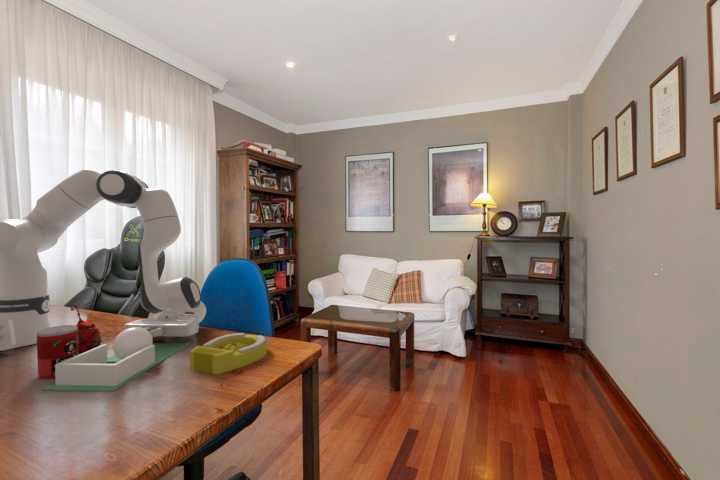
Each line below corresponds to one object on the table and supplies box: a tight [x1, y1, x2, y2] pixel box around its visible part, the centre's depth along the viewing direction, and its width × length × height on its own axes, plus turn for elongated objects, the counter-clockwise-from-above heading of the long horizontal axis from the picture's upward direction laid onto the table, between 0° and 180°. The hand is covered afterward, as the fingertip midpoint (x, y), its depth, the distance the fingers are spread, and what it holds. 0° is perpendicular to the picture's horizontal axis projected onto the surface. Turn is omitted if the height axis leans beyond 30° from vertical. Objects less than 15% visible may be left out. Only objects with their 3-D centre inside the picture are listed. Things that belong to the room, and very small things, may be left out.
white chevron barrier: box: [55, 343, 155, 386], centre depth 84 cm, size 14×14×5 cm
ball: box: [112, 327, 154, 360], centre depth 92 cm, size 9×9×9 cm
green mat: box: [42, 342, 189, 392], centre depth 91 cm, size 31×16×1 cm, turn 178°
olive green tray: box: [189, 332, 268, 375], centre depth 95 cm, size 16×21×5 cm
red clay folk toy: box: [70, 301, 102, 355], centre depth 100 cm, size 8×7×15 cm
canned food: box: [36, 324, 79, 380], centre depth 85 cm, size 8×8×11 cm
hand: (144, 335), depth 98 cm, fingers closed
